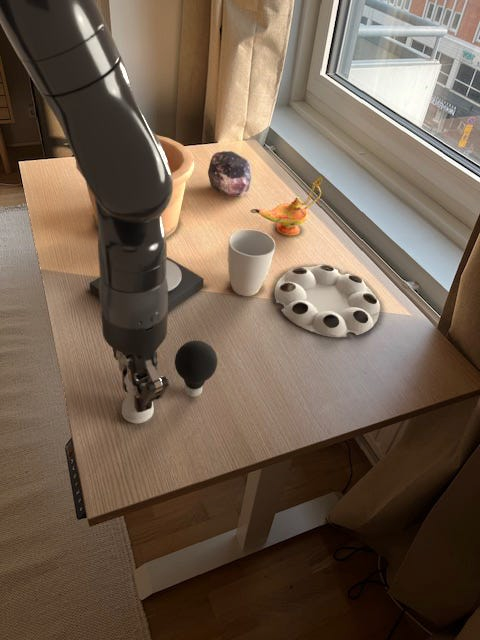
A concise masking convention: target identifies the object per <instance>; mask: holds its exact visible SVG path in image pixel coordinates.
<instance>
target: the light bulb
mask: <svg viewBox="0 0 480 640" xmlns="http://www.w3.org/2000/svg"><path fill="white" fill-rule="evenodd" d="M174 367H175V371H176V372H177V374H178V376H179V377H180V378H181V379H183V382H184V384H185V389H184V392H185V393H186V395H188V396H189V397H193V398H195V397H198V396H200V395H201V394H202V392H203V386H204V385H205V383H206V381H207V380H209V379H210V378H211V377H213V376H214V374H215V373H216V370H217V367H218V356H217V353H216V350H215V349H214V348H213V347H212V346H211V345H210V344H209V343H207V342H205V341H202V340H197V339H196V340H195V339H194V340H189V341H187V342H185V343H183V344H182V345H180V347H179V348H178V350H177V351H176V352H175V357H174Z"/></svg>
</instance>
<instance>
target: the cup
mask: <svg viewBox="0 0 480 640" xmlns="http://www.w3.org/2000/svg"><path fill="white" fill-rule="evenodd" d="M275 251H276V241H275V240H274V238H273V236H271V235H270V234H268V233H266V232H264V231H261V230H258V229H254V228H253V229H252V228H245V229H244V228H243V229H239V230H236V231H234V232H232V233H231V234H230V236H229V237H228V248H227V267H228V277H229V280H230V284H231V289H232V290H233V291H234V292H235V293H236V294H237V295H240V296H243V297H253V296H254V295H256V294H258V292H259V291H260V289H261V288H262V286H263V284H264V283H265V281H266V278H267V276H268V274H269V271H270V268H271V266H272V261H273V258H274V254H275Z"/></svg>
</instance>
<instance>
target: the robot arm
mask: <svg viewBox="0 0 480 640" xmlns="http://www.w3.org/2000/svg"><path fill="white" fill-rule="evenodd" d="M0 25H1V27H2V30H3V31H4V33H5V35H6V37H7V39H8V41H9V43H10V44H11V46H12V48H13V50H14V51H15V53H16V55H17V57H18V58H19V60H20V62H21V63H22V65H23V66H24V68H25V70H26V72H27V73H28V75H29V77H30V78H31V80H32V81H33V83H34V85H35V87H36V89H37V91H38V92H39V94H40V95H41V97H42V98H43V100H44V102H45V103H46V104H47V106H48V107H49V109H50V110H51V111H52V113H53V115H54V117H55V119H56V121H57V122H58V123H59V126H60V128H61V130H62V132H63V134H64V136H65V139H66V142H67V144H68V146H69V149H70V150H71V153H72V155H73V157H74V159H75V163H76V162H77V164H78V166H79V168H80V170H81V172H82V174H83V176H84V177H83V176H82V177H83V178H84V181H85V183H87V184H88V186H89V188H90V190H91V192H92V194H93V195H94V197H95V204H96V210H97V217H98V226H97V228H98V229H97V231H98V232H97V234H98V235H97V255H98V266H99V277H100V284H99V295H100V298H99V305H100V316H101V327H102V328H101V329H102V335H103V338H104V341H105V342H106V343H107V345H108V346H110V347H111V349H112V353H113V358H114V359H115V361H117V362H118V369H119V371H120V372H121V378H122V389H123V391H124V392H125V393H128V391H127V389H126V384H125V382H124V378H125V376H126V374H127V373H128V379H129V381H130V382H131V384H132V385H133V387H134V403H135V409H136V411H137V412H138V413H139V412H144V411H146V410H148V409H151V407H152V402H154V401H157V400H160V399H162V398H163V396H164V394H165V393H166V391H167V389H168V387H169V386H170V382H169V379H168V377H167V376H166V375H163V376H162V375H159V373H158V349H159V347H160V346H161V345H162V344H163V343H164V341H165V340H166V337H167V334H168V318H169V317H168V313H169V311H168V284H167V277H166V264H167V257H168V253H167V252H168V250H167V249H168V247H167V246H168V245H167V237H166V236H165V232H164V228H163V224H162V219H161V214H162V213H163V212H164V210H165V209H166V208H167V206H168V204H169V202H170V200H171V196H172V192H173V179H172V174H171V170H170V167H169V165H168V162H167V159H166V157H165V154H164V151H163V148H162V145H161V143H160V141H159V139H158V137H157V136H156V135H157V134H156V133H155V132H154V130H152V129H151V128H150V127H149V125H148V123H147V121H146V118H145V117H144V115H143V113H142V111H141V109H140V107H139V105H138V102H137V100H136V98H135V95H134V92H133V88H132V84H131V81H130V77H129V74H128V71H127V68H126V66H125V63H124V61H123V58H122V55H121V53H120V51H119V48H118V47H117V45H116V42H115V40H114V38H113V36H112V33H111V30H110V29H109V26H108V25H107V22H106V20H105V17H104V15H103V14H102V11H101V9H100V7H99V5H98V3H97V1H96V0H0ZM87 184H86V185H87ZM142 383H143V386H141V387H140V385H141V384H142Z"/></svg>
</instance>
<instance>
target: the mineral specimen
mask: <svg viewBox="0 0 480 640" xmlns="http://www.w3.org/2000/svg"><path fill="white" fill-rule="evenodd" d="M207 175H208V180H209V183H210V187H211V188H212V190H214V191H215V192H217V193H218V194H220V195H221V196H223V197H227V198H228V197H236V196H243V195H246V194H247V193H248V192H249V190H250V185H251V181H252V168H251V164H250V161H249V160H248V159H246V158H244V156H242V155H239V154H238V153H236V152H234V151H230V150H227V151H226V150H225V151H224V150H223V151H217V152H215V153H214V154H213V155H212V156H211V158H210V161H209V165H208V171H207Z"/></svg>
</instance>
